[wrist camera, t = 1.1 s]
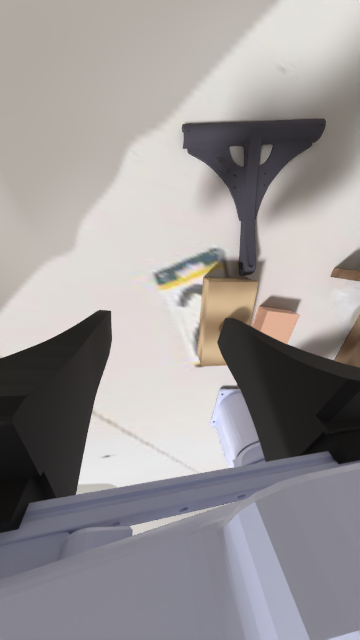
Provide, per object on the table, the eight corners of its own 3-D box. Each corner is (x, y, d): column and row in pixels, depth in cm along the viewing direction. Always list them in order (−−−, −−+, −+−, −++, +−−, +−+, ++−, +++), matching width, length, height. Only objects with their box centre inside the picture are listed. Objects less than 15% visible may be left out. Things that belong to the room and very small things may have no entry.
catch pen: (329, 378, 33) (347, 392, 29) (284, 377, 31) (299, 391, 28) (388, 276, 25) (421, 280, 22) (334, 268, 24) (361, 270, 21)
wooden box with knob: (232, 351, 28) (249, 375, 23) (196, 352, 27) (206, 378, 22) (245, 277, 23) (270, 286, 18) (202, 277, 23) (216, 285, 17)
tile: (275, 337, 28) (286, 345, 26) (248, 335, 27) (256, 343, 25) (287, 309, 26) (299, 314, 24) (257, 305, 25) (267, 311, 23)
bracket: (189, 278, 23) (193, 282, 20) (180, 131, 17) (184, 110, 15) (289, 268, 24) (304, 270, 22) (312, 126, 18) (337, 105, 16)
